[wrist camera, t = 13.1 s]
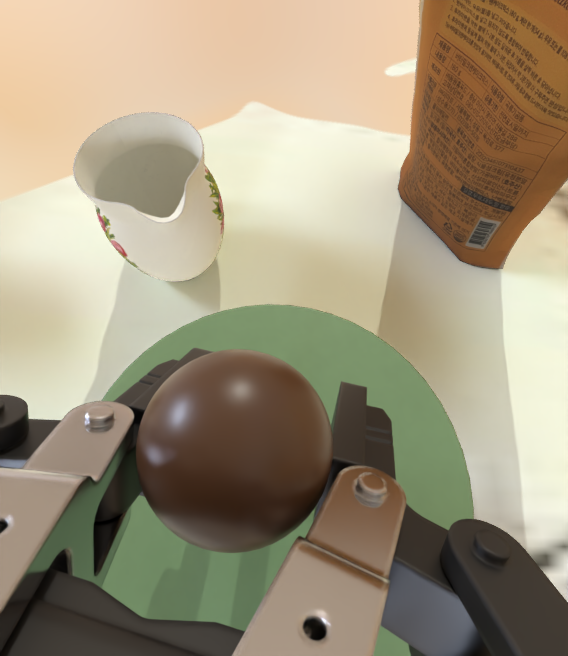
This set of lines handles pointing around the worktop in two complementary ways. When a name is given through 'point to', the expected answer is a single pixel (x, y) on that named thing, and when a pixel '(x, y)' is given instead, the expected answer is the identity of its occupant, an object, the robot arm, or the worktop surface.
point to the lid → (262, 457)
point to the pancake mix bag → (487, 121)
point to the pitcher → (153, 194)
